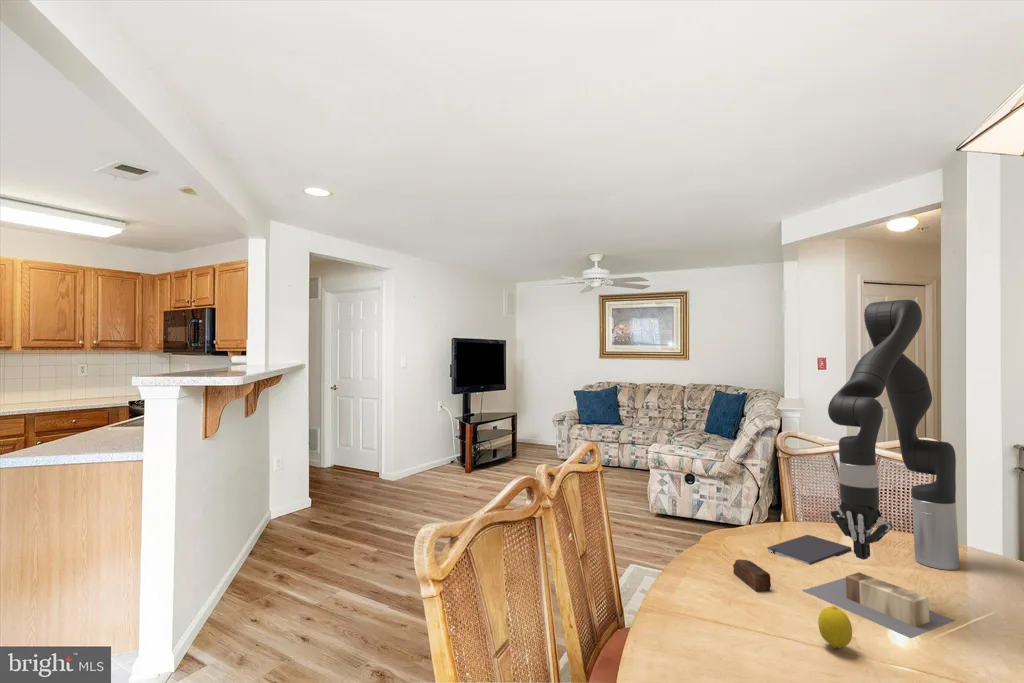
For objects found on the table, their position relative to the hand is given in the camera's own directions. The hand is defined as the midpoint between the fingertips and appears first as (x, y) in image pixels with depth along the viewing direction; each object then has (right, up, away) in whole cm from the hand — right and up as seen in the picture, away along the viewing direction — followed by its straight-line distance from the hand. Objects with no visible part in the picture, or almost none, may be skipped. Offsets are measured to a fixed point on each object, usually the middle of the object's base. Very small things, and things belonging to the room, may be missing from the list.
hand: (862, 557), depth 114 cm
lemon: (-18, -10, -18) cm, 28 cm away
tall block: (-1, -7, +2) cm, 7 cm away
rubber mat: (+1, -10, -2) cm, 10 cm away
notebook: (+6, -12, +31) cm, 33 cm away
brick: (-21, -11, +10) cm, 26 cm away
